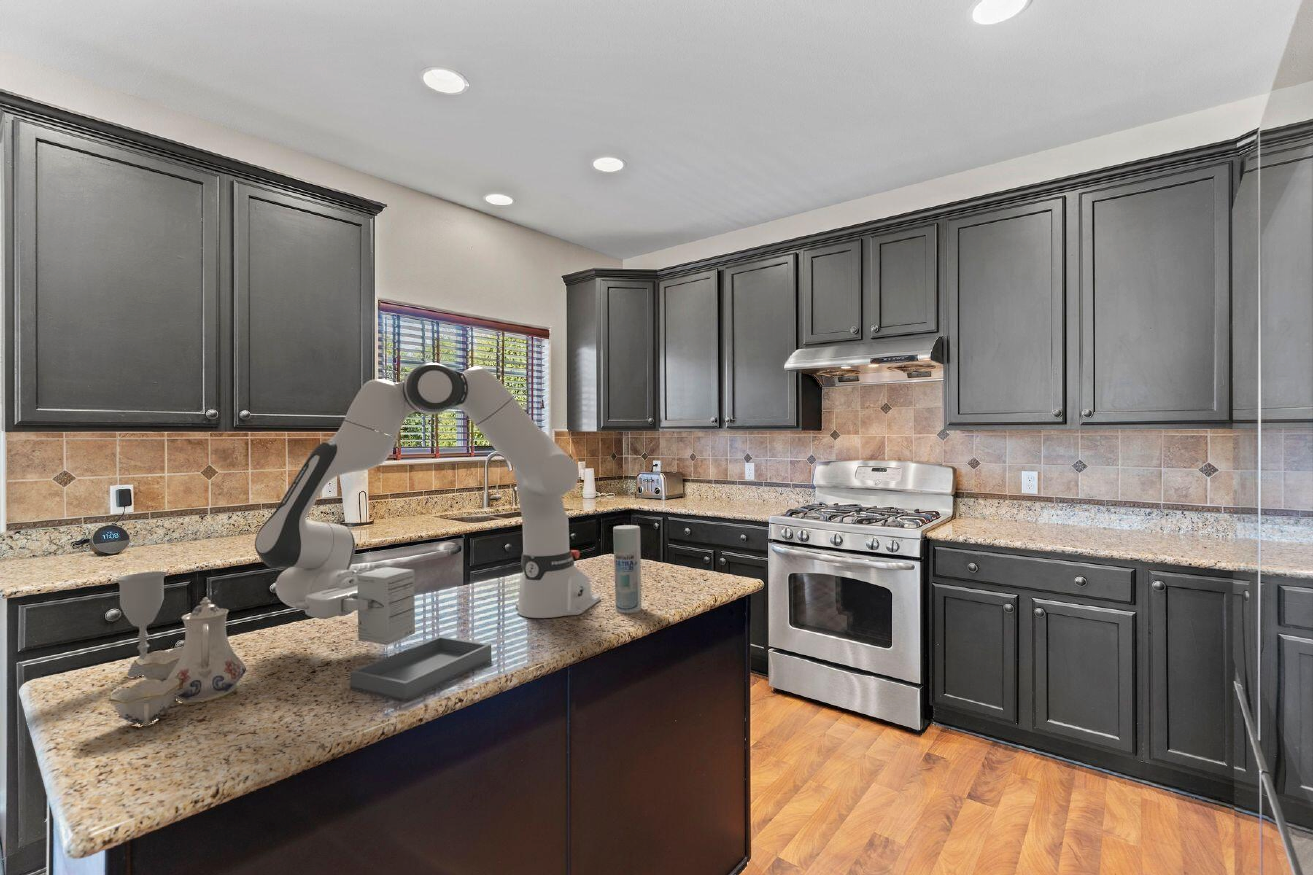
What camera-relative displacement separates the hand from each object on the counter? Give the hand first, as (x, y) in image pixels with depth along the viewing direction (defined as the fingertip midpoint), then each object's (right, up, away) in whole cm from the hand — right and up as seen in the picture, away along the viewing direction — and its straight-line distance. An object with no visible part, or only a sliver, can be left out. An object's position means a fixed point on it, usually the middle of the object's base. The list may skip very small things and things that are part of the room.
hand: (389, 599), depth 116 cm
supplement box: (-1, -8, 0) cm, 8 cm away
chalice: (-44, -13, -3) cm, 46 cm away
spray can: (+44, -11, +32) cm, 55 cm away
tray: (+9, -12, -7) cm, 16 cm away
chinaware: (-28, -13, -14) cm, 34 cm away
